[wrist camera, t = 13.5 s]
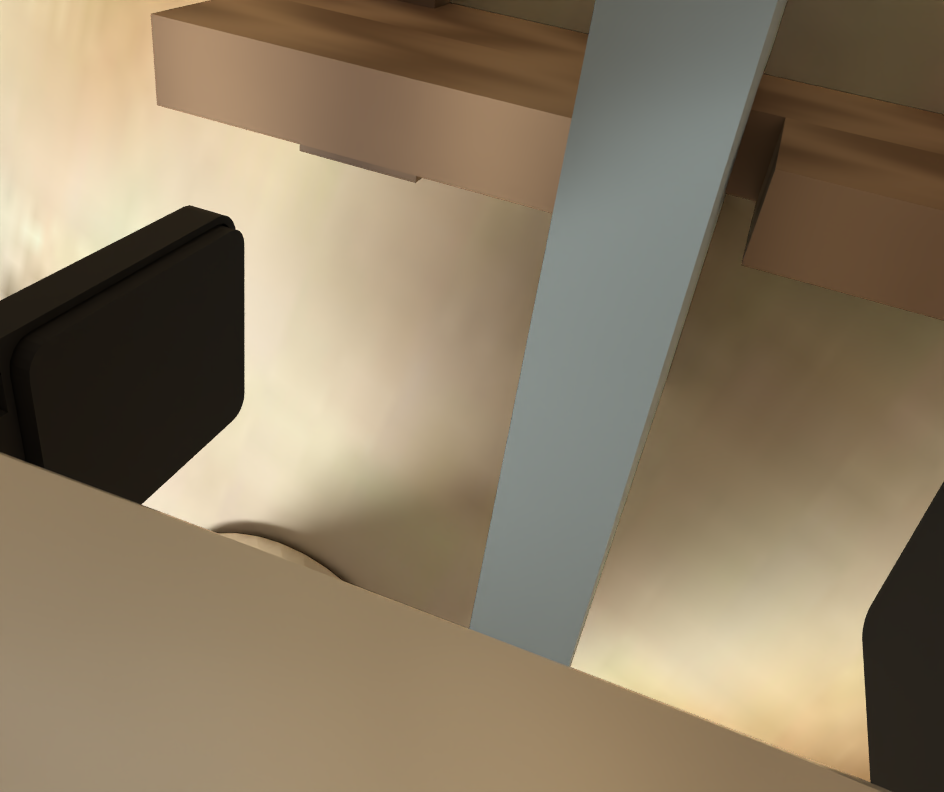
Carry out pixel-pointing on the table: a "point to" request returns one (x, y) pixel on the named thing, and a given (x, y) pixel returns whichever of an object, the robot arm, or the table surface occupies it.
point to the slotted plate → (614, 296)
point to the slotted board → (558, 126)
